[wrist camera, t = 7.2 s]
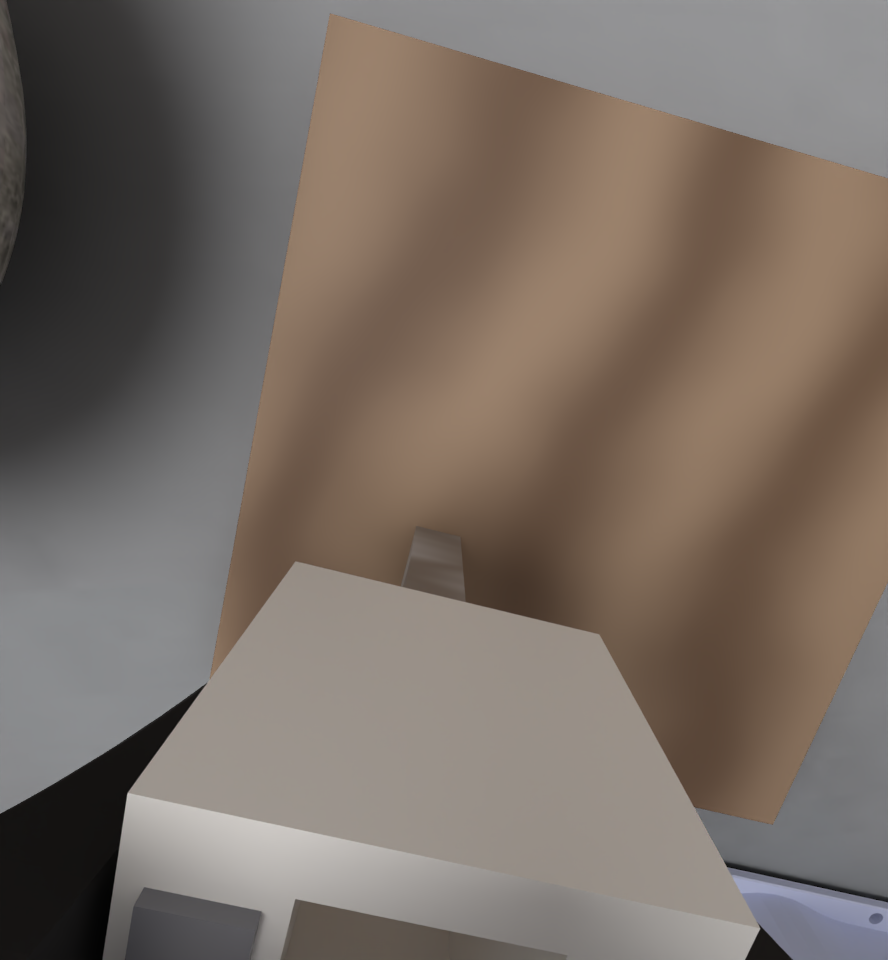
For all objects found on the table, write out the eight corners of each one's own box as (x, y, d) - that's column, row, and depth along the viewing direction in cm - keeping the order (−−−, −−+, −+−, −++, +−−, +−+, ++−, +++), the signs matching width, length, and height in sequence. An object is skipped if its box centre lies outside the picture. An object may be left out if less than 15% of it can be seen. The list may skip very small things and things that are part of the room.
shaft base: (1010, 237, 16) (1357, 165, 10) (754, 797, 20) (884, 986, 14) (339, 39, 15) (265, -177, 9) (220, 676, 19) (117, 824, 13)
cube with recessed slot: (599, 634, 10) (770, 948, 4) (513, 876, 11) (572, 1339, 6) (295, 561, 9) (115, 809, 4) (242, 818, 10) (51, 1252, 5)
